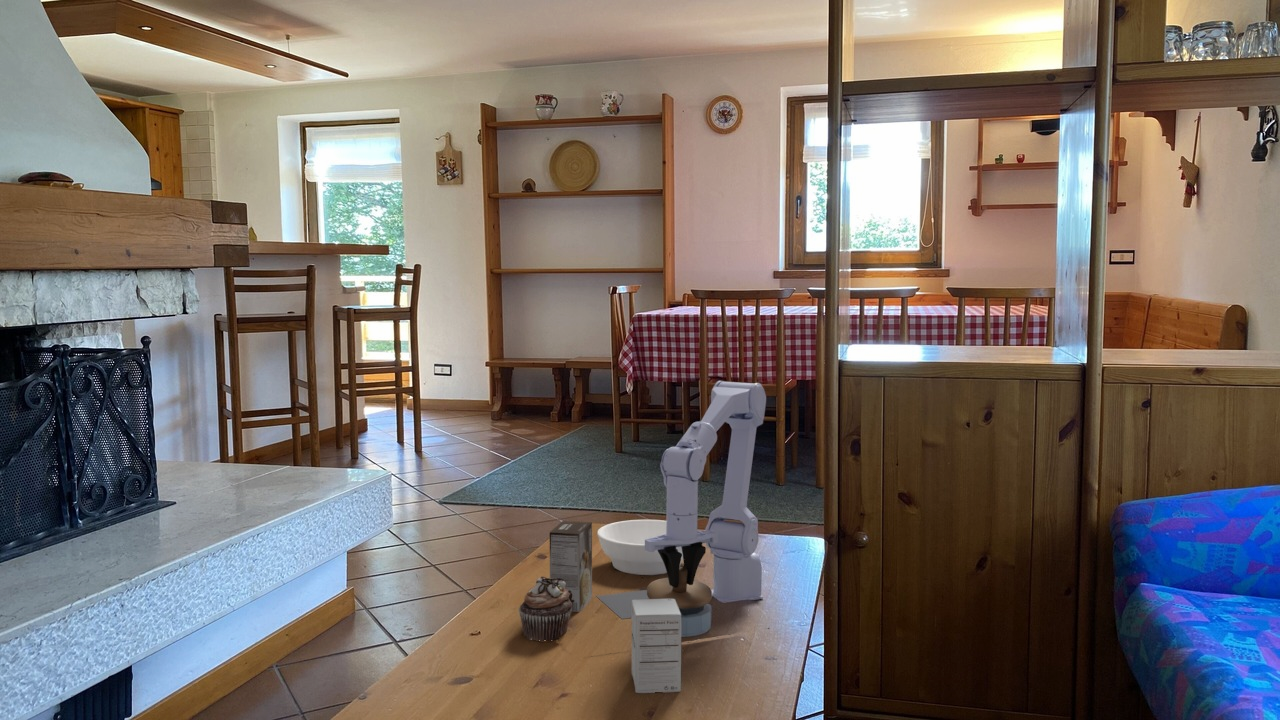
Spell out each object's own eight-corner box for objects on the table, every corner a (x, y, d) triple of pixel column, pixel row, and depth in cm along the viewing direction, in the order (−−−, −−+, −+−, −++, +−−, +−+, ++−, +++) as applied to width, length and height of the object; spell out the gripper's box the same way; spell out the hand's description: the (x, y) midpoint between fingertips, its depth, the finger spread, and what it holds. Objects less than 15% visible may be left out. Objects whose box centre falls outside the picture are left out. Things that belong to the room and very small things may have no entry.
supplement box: (630, 674, 148) (630, 598, 147) (675, 673, 148) (676, 597, 147) (634, 694, 140) (634, 614, 139) (681, 692, 141) (682, 613, 140)
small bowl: (694, 614, 175) (694, 594, 175) (721, 634, 165) (721, 612, 165) (642, 622, 171) (642, 601, 171) (666, 643, 161) (666, 621, 160)
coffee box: (562, 597, 185) (562, 520, 184) (592, 599, 183) (592, 521, 182) (548, 612, 176) (548, 531, 175) (580, 615, 174) (580, 533, 173)
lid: (687, 578, 176) (689, 553, 176) (724, 601, 166) (726, 575, 165) (634, 588, 170) (636, 563, 169) (669, 613, 160) (671, 586, 159)
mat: (659, 590, 189) (659, 587, 189) (688, 612, 176) (688, 609, 176) (596, 599, 184) (596, 596, 184) (621, 622, 171) (621, 619, 171)
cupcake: (523, 623, 170) (523, 571, 169) (574, 624, 170) (574, 572, 169) (514, 643, 160) (514, 587, 160) (568, 644, 160) (568, 588, 159)
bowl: (661, 548, 221) (662, 515, 220) (716, 573, 202) (716, 536, 201) (579, 562, 209) (579, 526, 209) (628, 589, 190) (629, 550, 189)
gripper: (703, 503, 173) (703, 573, 174) (636, 511, 166) (636, 584, 167) (724, 511, 167) (723, 583, 168) (655, 520, 160) (654, 595, 161)
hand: (681, 584), depth 167 cm, fingers closed on lid, 3 cm apart
